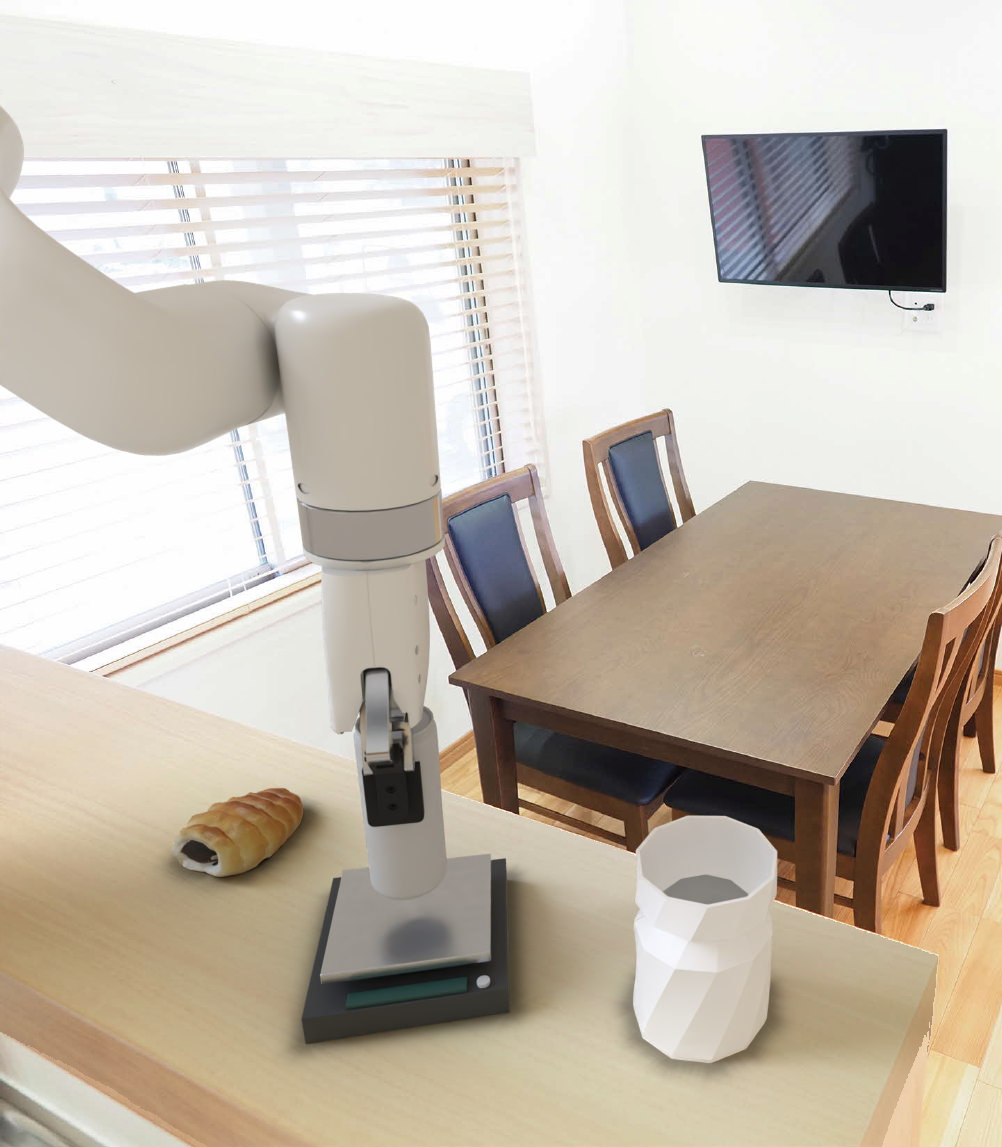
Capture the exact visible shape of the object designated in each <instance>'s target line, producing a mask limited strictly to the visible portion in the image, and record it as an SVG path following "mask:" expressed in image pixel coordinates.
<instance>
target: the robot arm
mask: <svg viewBox="0 0 1002 1147" xmlns="http://www.w3.org/2000/svg"><path fill="white" fill-rule="evenodd" d="M24 158H25V146H24V140H23V137H22V134H21V132H20V129H19V127H18V125H17V123H16V122H15V120H14V119H13V118H12V116H11V114H9V113H8V112H7V110H6V109H4V108H3V106H1V105H0V387H2V388H4V389H6V390H7V391H8V392H11V393H12V394H14V395H15V396H16V397H18V398H19V399H21V400H22V401H24V402H26V403H27V404H28V405H30V406H32V407H33V408H35V409H37V410H38V411H39V412H41V413H43V414H44V415H46V416H48V417H49V418H51V419H52V420H55V421H56V422H57V423H59V424H61V425H63V426H65V427H67V428H68V429H70V430H72V431H74V432H75V433H77V434H78V435H81V436H82V437H85V438H87V439H89V440H91V441H94V442H96V443H99V444H101V445H103V446H106V447H108V448H111V449H114V450H117V451H120V452H121V451H122V452H125V453H130V454H133V455H138V456H146V457H147V456H153V457H162V456H163V457H164V456H165V457H166V456H171V455H177V454H181V453H186V452H189V451H190V450H193V449H196V448H199V447H200V446H203V445H205V444H208V443H210V442H212V441H214V440H216V439H218V438H220V437H223V436H224V435H227V434H229V433H231V432H234V431H235V430H238V429H239V428H243V427H246V426H249V425H252V424H255V423H259V422H262V421H264V420H265V421H266V420H268V419H271V418H274V417H277V416H281V415H285V422H286V429H287V430H286V431H287V437H288V445H289V452H290V461H291V468H292V475H293V476H292V477H293V483H294V491H295V498H296V506H297V512H298V513H297V514H298V520H299V527H300V528H299V529H300V536H301V543H302V544H301V545H302V553H303V556H304V557H305V559H306V560H307V561H309V562H311V563H312V564H315V565H316V566H320V567H321V578H320V579H321V583H320V592H321V593H320V594H321V595H320V596H321V599H320V600H321V601H320V602H321V622H322V623H321V626H322V639H323V652H324V653H323V654H324V663H325V664H324V665H325V675H326V676H325V677H326V688H327V689H326V691H327V703H328V715H329V716H328V717H329V727H330V728H331V730H332V731H333V732H334V733H335V734H337V735H343V734H344V733H347V732H348V733H350V732H353V729H354V728H355V723H356V720H357V719H358V715H359V717H360V730H361V746H362V761H363V767H362V778H363V786H364V795H365V803H366V812H367V820H368V824H369V825H370V826H371V827H381V826H390V825H400V824H410V823H418V822H421V821H422V820H423V819H424V813H425V810H424V799H423V788H422V777H421V766H420V761H416V762H415V755H414V738H413V727H414V726H415V725H417V724H418V723H419V722H420V721H421V718H422V713H423V707H424V706H425V700H426V692H427V684H428V676H429V666H430V649H431V624H430V623H431V622H430V604H429V592H428V591H429V589H428V588H429V587H428V576H427V563H426V562H427V561H426V560H428V559H430V558H432V557H434V556H436V555H437V554H438V553H440V552H442V550H443V549H444V547H445V546H446V536H445V521H444V520H445V519H444V507H443V495H442V494H443V493H442V484H441V482H442V481H441V471H440V470H441V469H440V468H441V467H440V456H439V442H438V440H439V439H438V427H437V425H438V424H437V413H436V412H437V411H436V397H435V384H434V370H433V356H432V345H431V344H432V343H431V342H432V341H431V334H430V327H429V324H428V321H427V318H426V316H425V314H424V312H423V311H422V310H421V309H420V306H417V305H416V304H415V303H414V302H412V301H410V300H407V299H404V298H403V297H398V296H392V295H385V294H377V293H365V292H362V293H361V292H331V293H330V292H329V293H328V292H327V293H326V292H325V293H317V294H315V293H314V294H313V293H306V292H299V291H294V290H289V289H283V288H279V287H276V286H275V287H274V286H271V285H265V284H261V283H255V282H251V281H250V282H249V281H243V280H233V279H231V280H230V279H228V280H227V279H221V280H208V281H203V282H197V283H191V284H189V283H188V284H186V283H185V284H184V283H183V284H178V285H173V286H165V287H160V288H155V289H149V290H142V291H138V292H134V291H133V290H130V289H128V288H126V287H125V286H124V285H122V284H121V283H119V282H117V281H115V280H114V279H112V278H111V277H109V276H108V275H106V274H105V273H104V272H102V271H101V270H99V269H98V268H97V267H95V266H94V265H91V264H90V263H89V262H87V261H86V260H85V259H83V258H82V257H80V256H78V255H77V254H76V253H75V252H73V251H72V250H70V249H69V248H67V247H66V246H64V245H63V244H62V243H60V242H59V241H57V240H56V239H54V238H53V237H52V236H51V235H50V234H48V233H47V232H46V231H44V229H42V228H40V227H39V226H38V225H37V224H36V223H34V221H32V220H31V219H30V218H29V217H28V216H27V215H25V213H23V211H21V209H19V207H18V206H17V205H16V204H15V203H14V202H13V201H12V199H11V197H12V195H13V193H14V191H15V189H16V187H17V185H18V183H19V180H20V177H21V174H22V170H23V164H24ZM392 710H401V712H402V713H403V716H401V717H392ZM393 731H402V746H403V748H402V747H401V745H400V743H394V742H393V740H392V732H393Z"/></svg>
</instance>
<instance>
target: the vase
mask: <svg viewBox="0 0 1002 1147" xmlns="http://www.w3.org/2000/svg"><path fill="white" fill-rule="evenodd" d="M635 858H636V868H637V870H636V872H637V873H636V885H635V886H636V887H635V896H634V903H635V904H636V905H637V907H638V908H639V909H638V912H637V914H636V915H635V918H634V920H633V931H634V940H635V941H634V942H635V954H636V962H635V963H636V964H635V977H634V978H635V979H634V986H633V995H632V1006H633V1011H634V1014H635V1018H636V1020H637V1024H638V1027H639V1031H640V1034H641V1037H642V1039H643V1040H645V1041H646V1042H647V1043H649V1044H650V1045H651V1046H653V1047H654V1048H656V1049H657V1050H659V1051H660V1052H661V1053H663V1054H664V1055H666V1056H667V1057H668V1058H669V1059H671V1060H679V1061H687V1062H696V1063H703V1064H712V1063H713V1064H714V1063H715V1062H717V1061H720V1060H723V1059H725V1058H727V1057H730V1056H733V1055H734V1054H735V1055H736V1054H737V1053H741V1052H742V1051H745V1050H747V1048H748V1047H749V1046H750V1044H751V1043H752V1042H753V1040H754V1039H755V1037H756V1036H757V1035H758V1033H759V1032H760V1030H761V1029H762V1028H763V1026H764V1025H765V1023H766V1021H767V1018H768V1009H769V1003H770V1002H769V1001H770V990H771V974H772V973H771V972H772V946H773V938H774V930H773V921H772V913H771V912H772V911H771V908H772V906H773V904H774V901H775V899H776V897H777V895H778V894H777V892H778V891H777V890H778V850H777V849H776V848H775V847H774V845H773V844H772V843H771V842H770V841H769V839H768V838H767V837H766V836H765V835H764V833H762V831H761V830H760V829H759V828H757V827H755V826H752V825H749V824H747V823H744V822H742V821H739V820H737V819H735V818H732V817H729V816H726V815H685V816H683V817H680V818H677V819H675V820H672V821H670V822H669V821H668V822H667V823H663V824H661V825H659V826H656V827H653V829H652V830H651V831H650V833H649V834H648V835H646V837H645V839H643V841H642V842H641V843H640V845H639V846H638V847H637V848H636V850H635Z"/></svg>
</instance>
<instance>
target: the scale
mask: <svg viewBox="0 0 1002 1147" xmlns="http://www.w3.org/2000/svg"><path fill="white" fill-rule="evenodd" d="M341 877H342V876H339V877H333V878H332V880H331V881H332V882H331V886H330V891H329V895H328V899H327V904H326V908H325V912H324V917H323V921H322V926H321V930H320V935H319V939H318V944H317V948H316V953H315V956H314V962H313V965H312V970H311V975H310V978H309V984H308V987H307V992H306V996H305V1001H304V1005H303V1009H302V1014H301V1017H300V1020H301V1026H302V1033H303V1039H304V1044H305V1045H309V1044H316V1043H322V1042H327V1041H328V1042H329V1041H334V1040H340V1039H341V1040H342V1039H348V1038H354V1037H355V1038H356V1037H361V1036H367V1035H374V1034H380V1033H387V1032H393V1031H401V1030H406V1029H414V1028H419V1027H427V1026H434V1025H440V1024H447V1023H453V1022H458V1021H465V1020H473V1019H479V1018H485V1017H491V1016H498V1015H505V1014H509V1013H510V1012H511V1011H510V1010H511V1009H510V1008H511V1007H510V1006H511V1005H510V1001H511V1000H510V959H509V957H510V956H509V955H510V954H509V952H510V951H509V910H508V909H509V908H508V907H509V906H508V903H509V902H508V901H509V900H508V871H507V859H506V858H505V857H504V858H503V857H502V858H494V859H491V961H489V962H482V963H475V964H468V965H460V966H453V967H446V968H439V969H432V970H425V971H418V972H410V973H403V974H396V975H389V976H382V977H375V978H368V979H360V980H353V981H346V982H339V983H332V984H325V985H322V984H321V978H320V974H321V969H322V965H323V960H324V955H325V951H326V946H327V941H328V937H329V932H330V928H331V923H332V918H333V914H334V909H335V904H336V900H337V895H338V890H339V886H340V881H341Z"/></svg>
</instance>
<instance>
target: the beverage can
mask: <svg viewBox="0 0 1002 1147" xmlns="http://www.w3.org/2000/svg"><path fill="white" fill-rule="evenodd" d="M401 716H403V713H402V712H401V710H392V717H401ZM434 718H435V717H434V713H433V711H432V710H431V709H430V708H429V707H427V706H425V705H424V707H423V713H422V718H421V721H420V722H419V723H418V724H417V725H415V726H414V727H413V738H414V755H415V762H416V761H420V766H421V777H422V788H423V799H424V810H425V813H424V819H423V820H422V821H421V822H418V823H410V824H400V825H390V826H381V827H371V826H370V825H369V824H368V820H367V812H366V803H365V795H364V786H363V778H362V767H363V761H362V746H361V730H360V716H359V717H357V719H356V721H355V724H354V733H353V744H354V753H355V754H354V755H355V760H356V762H355V763H356V770H357V778H358V786H359V787H358V788H359V795H360V802H361V803H360V804H361V810H362V819H363V820H362V821H363V826H364V837H365V844H366V845H365V846H366V852H367V862H368V867H369V870H370V878H371V884H372V886H373V887H374V889H375V890H376V891H378V892H379V893H380V894H382V895H383V896H385V897H388V898H391V899H396V900H409V899H414V898H418V897H421V896H423V895H426V894H427V893H429V892H431V891H432V890H434V889H435V888H436V887H437V886H438V885H439V884H440V883H441V882H442V880H443V878H444V877H445V875H446V871H447V845H446V832H445V823H444V808H443V797H442V796H443V795H442V784H441V783H442V781H441V763H440V749H439V737H438V727H437V723H436V721H435V719H434ZM392 740H393V742H394V743H400V745H401V747H402V748H403V746H402V731H393V732H392Z"/></svg>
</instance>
